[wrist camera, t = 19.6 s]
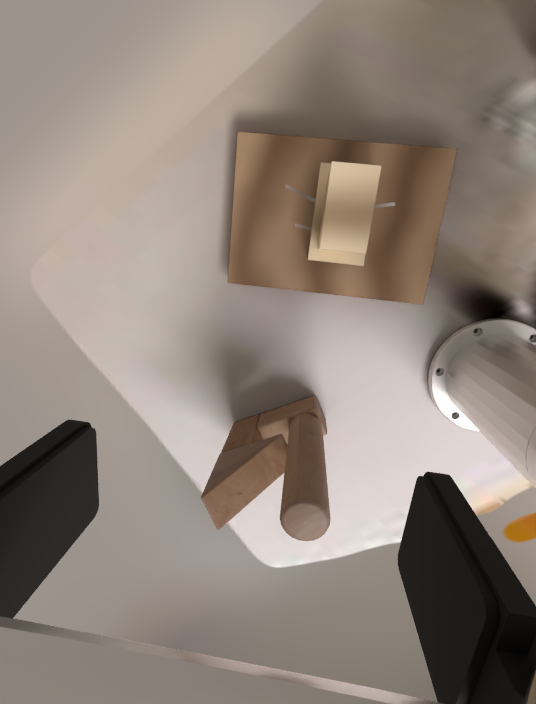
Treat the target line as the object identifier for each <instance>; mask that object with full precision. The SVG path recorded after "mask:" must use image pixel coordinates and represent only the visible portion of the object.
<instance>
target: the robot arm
mask: <svg viewBox="0 0 536 704" xmlns="http://www.w3.org/2000/svg"><path fill="white" fill-rule="evenodd" d="M475 329H476V331H475V332H474V330H475ZM530 336H531V337H530ZM529 337H530V338H529ZM438 368H439V371H436V370H437V369H438ZM428 384H429V391H430V394H431V397H432V400H433V402H434V403H435V405H436V406H437V408H438V409H439V410H440V411H441V413H442V414H443V415H444V416H445V417H446V418H447V419H449V420H450V421H451V422H453V423H455V424H457V425H458V426H460V427H463V428H466V429H469V430H473V431H480V432H481V433H482V434H483V435H484V436H485V437H486V438H487V439H488V440H489V441H490V442H491V443H492V444H493V445H494V446H495V447H496V448H497V449H498V451H499V452H500V453H501V454H502V455H503V456H504V457H505V458H506V459H507V460H508V461H509V462H510V463H511V464H512V465H513V466H514V467H515V468H516V469H517V470H518V471H519V472H520V473H521V474H522V475H523V476H524V477H525V478H526V479H527V480H528V481H529V482H530V483H531V484H532V485H533V486H534V487H535V488H536V329H534V328H533V327H531V326H528V325H526V324H524V323H521V322H518V321H514V320H509V319H500V318H497V319H486V320H482V321H477V322H474V323H472V324H469V325H467V326H465V327H463V328H461V329H459V330H458V331H456V332H455V333H453V334H452V335H451V336H450V337H449V338H448V339H447V340H445V341H444V342H443V344H442V345H441V346H440V348H439V349H438V350H437V352H436V354H435V356H434V358H433V360H432V362H431V365H430V369H429V376H428ZM452 413H453V414H452ZM98 507H99V494H98V471H97V444H96V431H95V429H94V428H92V427H91V425H90V423H88V422H83V421H76V420H67V421H65V422H64V423H62V424H61V425H59V426H58V427H56V428H55V429H53V430H52V431H51V432H49V433H48V434H46V435H45V436H43V437H42V438H40V439H39V440H37V441H36V442H35V443H33V444H32V445H30V446H29V447H27V448H26V449H25V450H23V451H22V452H20V453H19V454H17V455H16V456H14V457H13V458H11V459H10V460H9V461H7V462H6V463H4V464H3V465H1V466H0V704H536V606H535V604H534V603H533V601H532V600H531V598H530V597H529V595H528V594H527V592H526V591H525V589H524V588H523V586H522V585H521V583H520V581H519V580H518V579H517V577H516V575H515V574H514V572H513V571H512V569H511V568H510V566H509V564H508V563H507V561H506V560H505V558H504V557H503V555H502V554H501V552H500V551H499V549H498V548H497V546H496V545H495V543H494V542H493V540H492V539H491V537H490V536H489V535H488V533H487V531H486V530H485V529H484V527H483V525H482V524H481V522H480V521H479V519H478V518H477V516H476V515H475V513H474V511H473V510H472V508H471V507H470V505H469V504H468V502H467V501H466V499H465V498H464V496H463V494H462V493H461V491H460V490H459V488H458V487H457V485H456V484H455V482H454V481H453V479H452V478H451V476H450V475H446V474H440V473H433V472H426V473H425V474H424V477H423V476H419V477H418V478H417V481H416V485H415V489H414V493H413V497H412V501H411V505H410V509H409V513H408V517H407V521H406V525H405V529H404V533H403V537H402V541H401V545H400V549H399V553H398V566H399V571H400V574H401V578H402V581H403V584H404V588H405V591H406V595H407V598H408V602H409V605H410V609H411V612H412V615H413V619H414V622H415V625H416V629H417V632H418V636H419V639H420V643H421V646H422V650H423V653H424V656H425V660H426V663H427V667H428V670H429V673H430V677H431V680H432V684H433V687H434V691H435V694H436V697H437V701H438V702H434V701H430V700H425V699H420V698H415V697H412V696H407V695H402V694H398V693H393V692H389V691H384V690H380V689H375V688H370V687H364V686H360V685H354V684H349V683H345V682H340V681H335V680H330V679H325V678H319V677H315V676H310V675H305V674H300V673H294V672H289V671H284V670H279V669H274V668H270V667H265V666H260V665H255V664H249V663H244V662H239V661H234V660H229V659H224V658H218V657H213V656H208V655H203V654H197V653H193V652H187V651H182V650H177V649H172V648H167V647H161V646H156V645H151V644H146V643H141V642H135V641H129V640H125V639H120V638H114V637H109V636H104V635H99V634H93V633H88V632H82V631H77V630H72V629H66V628H61V627H55V626H50V625H45V624H39V623H33V622H28V621H23V620H18V619H13V617H14V616H15V615H16V614H17V613H18V611H19V610H20V609H21V608H22V606H23V605H24V604H25V603H26V601H27V600H28V599H29V598H30V596H31V595H32V594H33V593H34V591H35V590H36V589H37V588H38V587H39V585H40V584H41V583H42V582H43V580H44V579H45V578H46V577H47V575H48V574H49V573H50V572H51V570H52V569H53V568H54V567H55V566H56V564H57V563H58V562H59V561H60V559H61V558H62V557H63V556H64V554H65V553H66V552H67V551H68V549H69V548H70V547H71V546H72V544H73V543H74V542H75V541H76V540H77V538H78V537H79V536H80V534H81V533H82V532H83V531H84V530H85V528H86V527H87V526H88V525H89V523H90V522H91V521H92V520H93V519H94V517H95V515H96V513H97V511H98Z"/></svg>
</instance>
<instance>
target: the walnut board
mask: <svg viewBox="0 0 536 704" xmlns="http://www.w3.org/2000/svg"><path fill="white" fill-rule="evenodd" d="M456 153H457V149H451V148H439V147H426V146H413V145H400V144H387V143H375V142H362V141H349V140H336V139H323V138H311V137H298V136H285V135H272V134H259V133H247V132H238V136H237V151H236V166H235V181H234V196H233V211H232V226H231V241H230V256H229V271H228V283H235V284H244V285H253V286H262V287H271V288H280V289H289V290H298V291H307V292H316V293H325V294H334V295H343V296H352V297H361V298H370V299H379V300H388V301H397V302H406V303H415V304H423V303H424V298H425V294H426V289H427V285H428V280H429V276H430V271H431V267H432V262H433V258H434V253H435V249H436V244H437V239H438V235H439V230H440V226H441V221H442V217H443V212H444V208H445V203H446V199H447V194H448V190H449V185H450V181H451V176H452V172H453V167H454V162H455V158H456ZM332 161H335V162H346V163H357V164H367V165H378V166H381V172H380V177H379V183H378V189H377V194H376V200H375V206H374V211H373V217H372V222H371V228H370V234H369V239H368V245H367V251H366V255H365V260H364V266H359V265H350V264H341V263H332V262H323V261H314V260H308V254H309V246H310V239H311V231H312V224H313V216H314V209H315V201H316V194H317V186H318V179H319V171H320V165H321V162H322V163H332Z"/></svg>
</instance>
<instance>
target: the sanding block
mask: <svg viewBox="0 0 536 704" xmlns="http://www.w3.org/2000/svg"><path fill="white" fill-rule="evenodd" d="M380 172H381V166H378V165H367V164H357V163H346V162H335V161H332V163H322V162H321V165H320V171H319V179H318V186H317V194H316V201H315V209H314V216H313V224H312V231H311V239H310V246H309V254H308V260H314V261H323V262H332V263H341V264H350V265H359V266H364V260H365V255H366V251H367V245H368V239H369V234H370V228H371V222H372V217H373V211H374V206H375V200H376V194H377V189H378V183H379V177H380Z"/></svg>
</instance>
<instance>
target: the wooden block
mask: <svg viewBox="0 0 536 704" xmlns="http://www.w3.org/2000/svg"><path fill="white" fill-rule="evenodd" d="M326 434H327V427H326V419H325V416H324V414H323V411H322V409H321V407H320V404H319V402H318V399H317V397H316V396H311V397H308V398H306V399H303V400H300V401H297V402H294V403H291V404H288V405H285V406H282V407H279V408H276V409H273V410H270V411H267V412H264V413H262V414H260V415H255V416H252V417H249V418H246V419H243V420H240V421H238V422H235V423H234V424H233V426H232V429H231V431H230V433H229V436H228V438H227V440H226V443H225V445H224V447H223V450H222V452H221V454H220V455H219V457H218V459H217V462H216V464H215V466H214V469H213V471H212V473H211V476H210V478H209V480H208V482H207V485H206V487H205V489H204V492H203V494H202V496H201V498H202V500H203V502H204V504H205V506H206V508H207V510H208V512H209V514H210V516H211V518H212V520H213V522H214V524H215V526H216V528H217V529H218V530H219V529H220V528H221V527H223V526H224V525H225V524H226V523H227V522H228V521H229V520H231V519H232V518H233V517H234V516H235V515H236V514H237V513H239V512H240V511H241V510H242V509H243V508H244V507H245V506H247V505H248V504H249V503H250V502H251V501H252V500H253V499H255V498H256V497H257V496H258V495H259V494H260V493H261V492H263V491H264V490H265V489H266V488H267V487H268V486H269V485H270V484H272V483H273V482H274V481H275V480H276V479H277V478H278V477H280V476H281V475H282V474H283V473H284V472H285V473H284V483H283V493H282V503H281V512H280V521H281V525H282V527H283V528H284V530H285V531H286V533H287V534H289V535H290V536H291V537H293V538H295V539H298V540H302V541H311V540H315V539H318V538H320V537H321V536H322V535H324V534H325V532H326V531H327V529H328V527H329V525H330V510H329V499H328V487H327V476H326V465H325V453H324V442H323V435H326Z"/></svg>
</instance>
